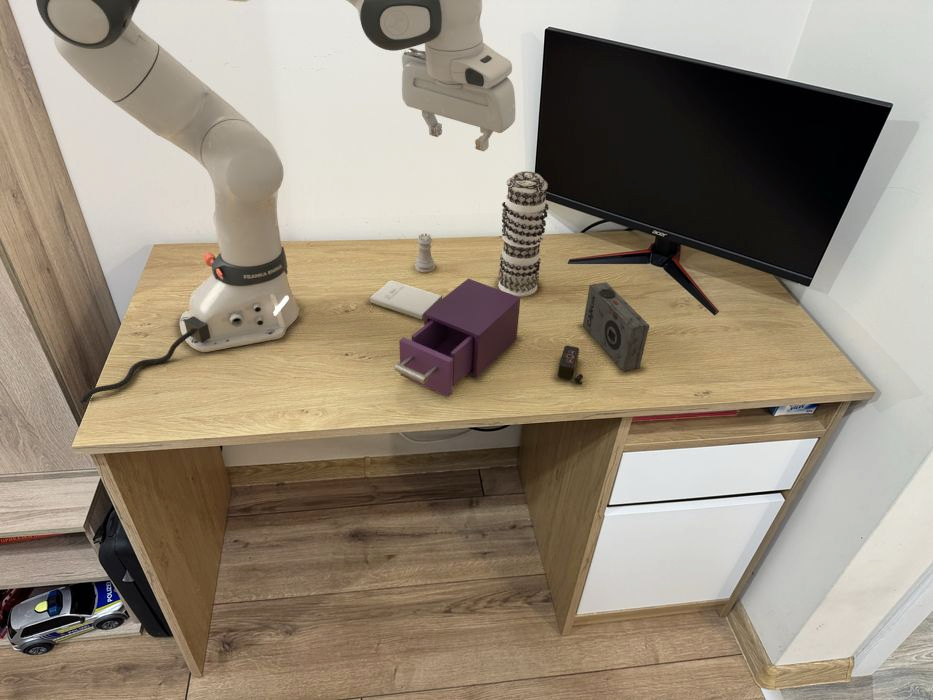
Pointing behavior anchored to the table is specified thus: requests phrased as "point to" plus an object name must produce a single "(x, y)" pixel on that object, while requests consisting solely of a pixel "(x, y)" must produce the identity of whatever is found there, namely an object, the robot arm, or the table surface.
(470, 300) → the file cabinet
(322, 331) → the table surface
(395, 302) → the hard drive
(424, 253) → the rook chess piece
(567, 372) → the wireless earbuds
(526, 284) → the decorative candle
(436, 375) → the drawer
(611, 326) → the camera
